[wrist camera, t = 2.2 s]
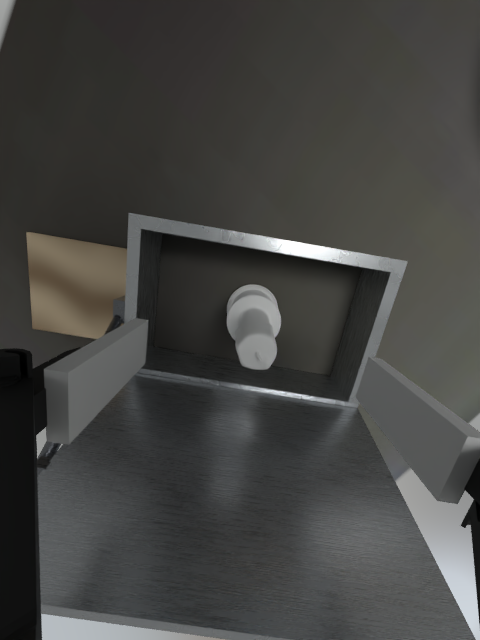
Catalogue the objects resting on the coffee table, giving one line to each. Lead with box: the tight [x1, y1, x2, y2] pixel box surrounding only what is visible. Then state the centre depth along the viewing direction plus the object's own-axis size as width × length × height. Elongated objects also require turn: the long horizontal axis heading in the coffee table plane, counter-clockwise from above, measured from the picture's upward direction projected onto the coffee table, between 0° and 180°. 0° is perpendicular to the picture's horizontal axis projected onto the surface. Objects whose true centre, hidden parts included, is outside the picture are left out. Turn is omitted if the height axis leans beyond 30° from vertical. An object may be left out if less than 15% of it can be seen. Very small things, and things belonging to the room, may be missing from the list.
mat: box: [26, 232, 127, 339], centre depth 25 cm, size 10×10×1 cm
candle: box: [227, 284, 281, 370], centre depth 20 cm, size 5×5×12 cm
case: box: [37, 213, 476, 640], centre depth 17 cm, size 17×23×19 cm
